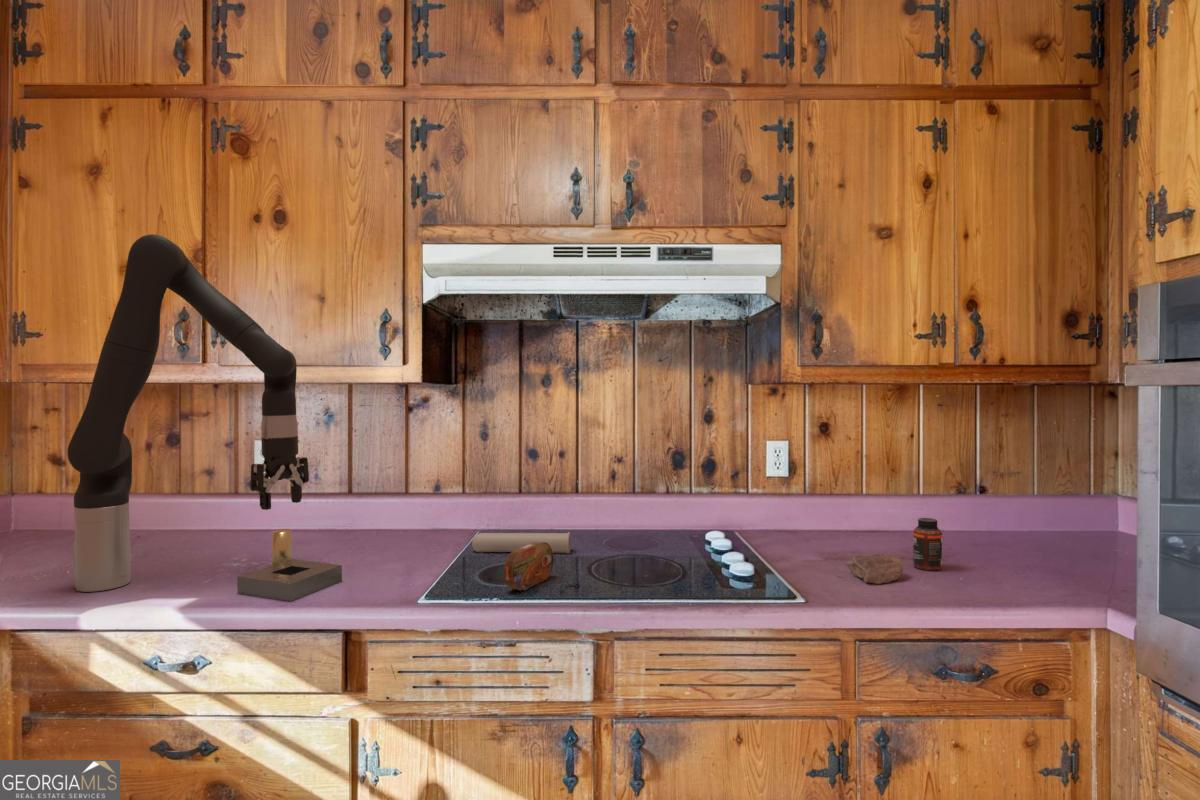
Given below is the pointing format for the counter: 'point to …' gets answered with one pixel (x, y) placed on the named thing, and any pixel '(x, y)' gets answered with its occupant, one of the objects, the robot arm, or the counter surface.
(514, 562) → the tin
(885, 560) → the rock
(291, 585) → the block
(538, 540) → the tube
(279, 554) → the pipe stub
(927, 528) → the supplement bottle
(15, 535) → the counter surface
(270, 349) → the robot arm
